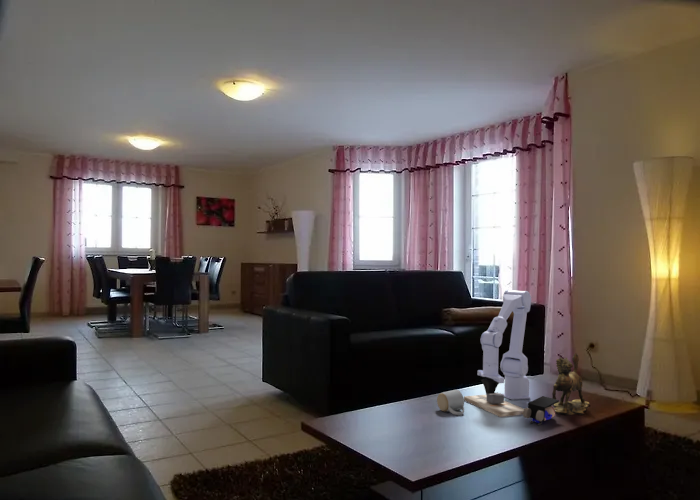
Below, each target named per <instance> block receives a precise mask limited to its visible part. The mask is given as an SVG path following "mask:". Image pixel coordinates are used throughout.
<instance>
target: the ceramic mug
mask: <svg viewBox="0 0 700 500" xmlns="http://www.w3.org/2000/svg"><path fill="white" fill-rule="evenodd" d="M436 403H437V404H436V405H437V406H438V408H439V410H440V411H442V412H445V413H450V414H452V415H454V416H462V415H464V413H465V407H464V406H465V400H464V396H463V394H462V392H461V391H460V390H458V389H453V390H448V391H443V392H441V393H438V395H437V399H436Z"/></svg>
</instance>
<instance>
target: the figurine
mask: <svg viewBox="0 0 700 500" xmlns="http://www.w3.org/2000/svg"><path fill="white" fill-rule="evenodd" d="M579 356H580V355H578V353H576V352H575V353H574V354H573V356H572V357H571V359H572V362H573V363H572V362H571V361H570V360H569V359H568V357H565V358H562V357H559V358H556V361H555V362H556V363H555V364H556V367H557V371H558V375H557V379H556V381H555V383H554V384H553V389H552V394H551V395H552V399H556V400H557V396H556V393H557V392H562V394H561V396H560V400H559V402H558V403H556V404H554V405H552V407H553V408H554V409H555V414H556V415H557V414H558V415H562V416H571V415H580V416H583V415H584V414H585V412H586V411H587V408H588V407H589V406H590V402H589V401H586V400H585V399H586V398H585V397H583V392H582V390H583V380H582V376H580V375H579V374H578V368H579V361H580V358H579ZM572 368H573V371H572ZM576 391H578V396H579V399H573V400H571V401H569V399H570V396H571V394H572V392H576Z"/></svg>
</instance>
